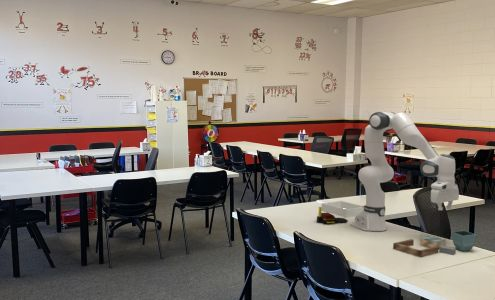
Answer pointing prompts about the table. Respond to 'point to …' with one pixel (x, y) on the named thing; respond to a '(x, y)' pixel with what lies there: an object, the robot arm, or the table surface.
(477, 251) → the table surface
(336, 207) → the toy storage tray
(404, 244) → the bay
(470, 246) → the flower pot
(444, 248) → the block
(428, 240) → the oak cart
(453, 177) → the robot arm
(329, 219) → the fire station toy set
